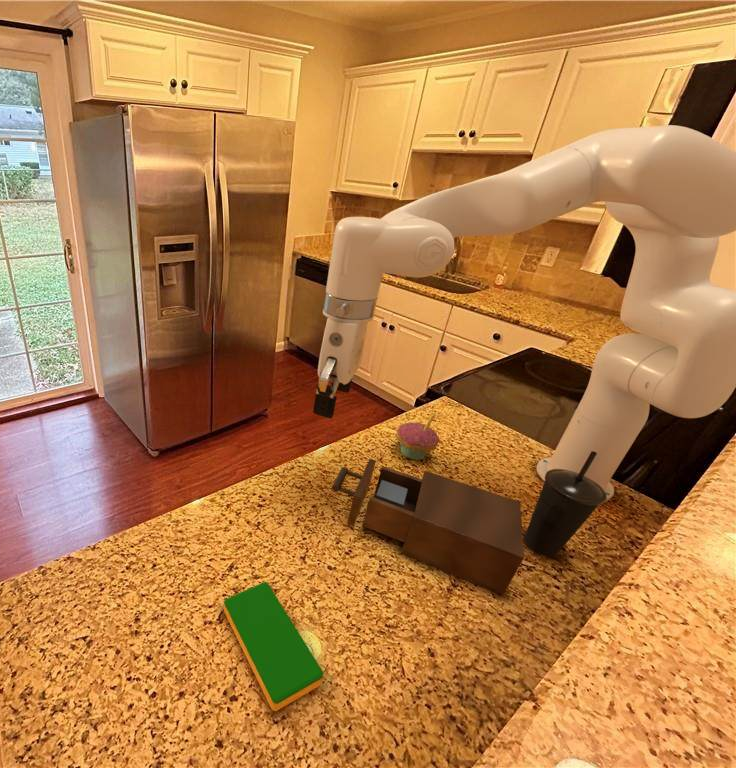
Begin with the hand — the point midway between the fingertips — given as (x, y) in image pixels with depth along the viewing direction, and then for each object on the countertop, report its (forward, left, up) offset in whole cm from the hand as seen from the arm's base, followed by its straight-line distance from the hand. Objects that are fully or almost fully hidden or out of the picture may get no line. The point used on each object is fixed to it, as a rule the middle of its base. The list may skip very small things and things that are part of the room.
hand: (331, 402), depth 70 cm
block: (0, +13, -19) cm, 23 cm away
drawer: (0, +12, -20) cm, 23 cm away
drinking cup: (-8, +37, -21) cm, 43 cm away
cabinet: (0, +24, -21) cm, 32 cm away
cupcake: (-23, +14, -21) cm, 34 cm away
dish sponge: (+31, +4, -21) cm, 38 cm away
